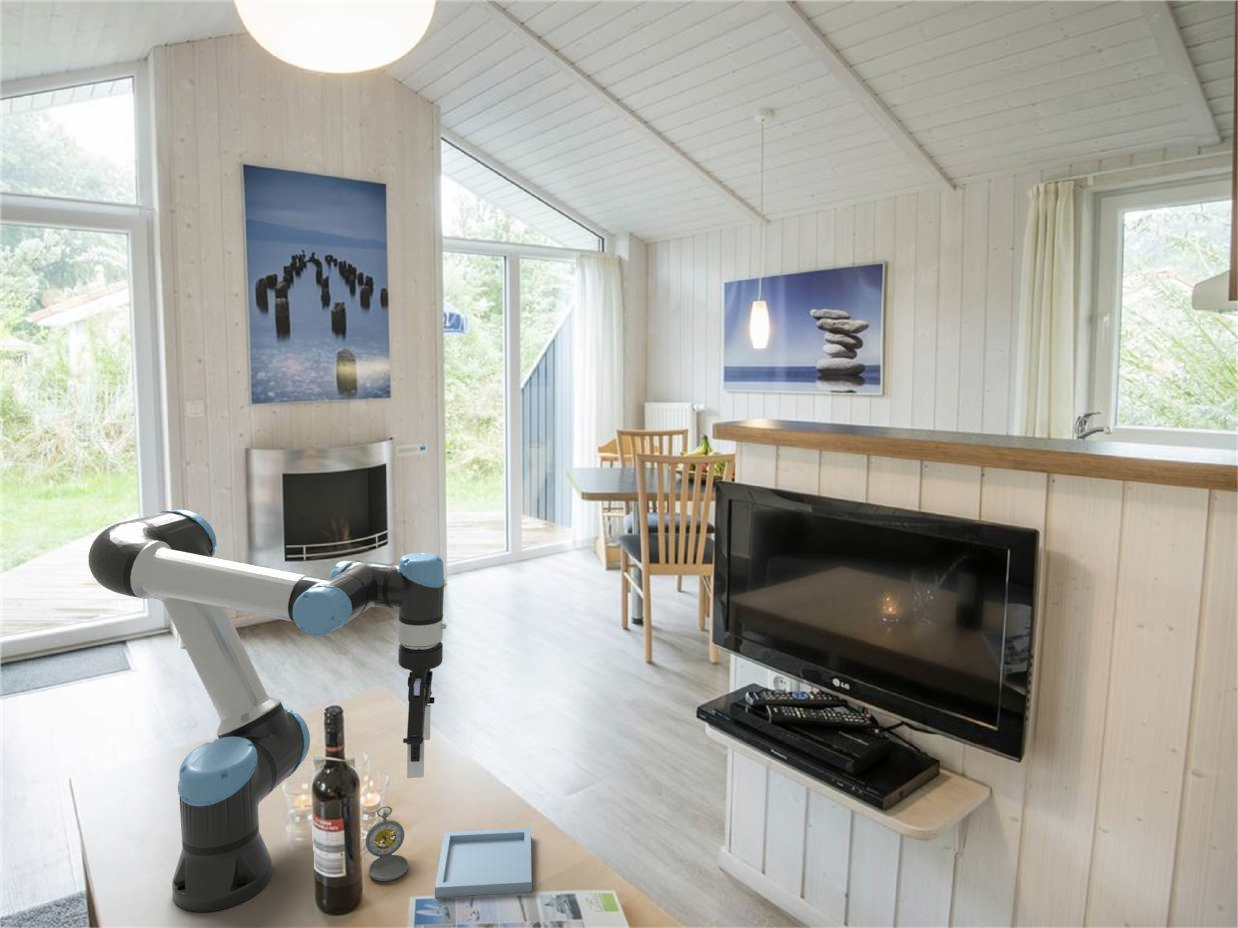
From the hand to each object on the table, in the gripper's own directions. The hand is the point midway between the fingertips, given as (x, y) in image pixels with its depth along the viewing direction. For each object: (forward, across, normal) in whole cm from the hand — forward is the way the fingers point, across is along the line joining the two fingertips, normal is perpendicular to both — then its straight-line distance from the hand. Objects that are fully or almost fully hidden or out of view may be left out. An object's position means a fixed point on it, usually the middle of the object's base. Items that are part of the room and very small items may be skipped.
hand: (419, 757), depth 144 cm
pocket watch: (+19, -3, +5) cm, 20 cm away
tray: (+18, -5, -12) cm, 23 cm away
